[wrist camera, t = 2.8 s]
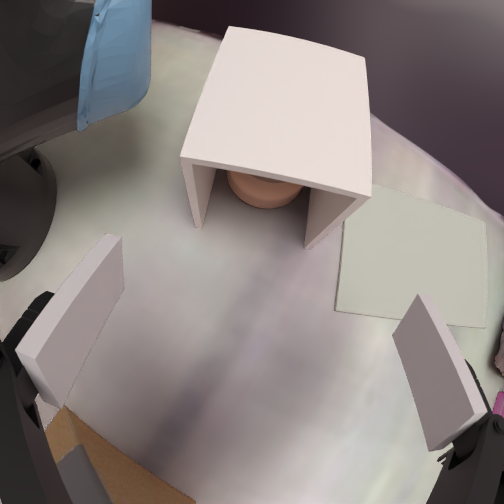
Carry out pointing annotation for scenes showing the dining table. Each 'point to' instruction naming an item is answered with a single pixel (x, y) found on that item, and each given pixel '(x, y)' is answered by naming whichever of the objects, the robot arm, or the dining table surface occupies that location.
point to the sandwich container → (102, 468)
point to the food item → (500, 354)
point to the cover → (284, 124)
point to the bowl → (262, 190)
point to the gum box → (499, 404)
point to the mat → (412, 259)
